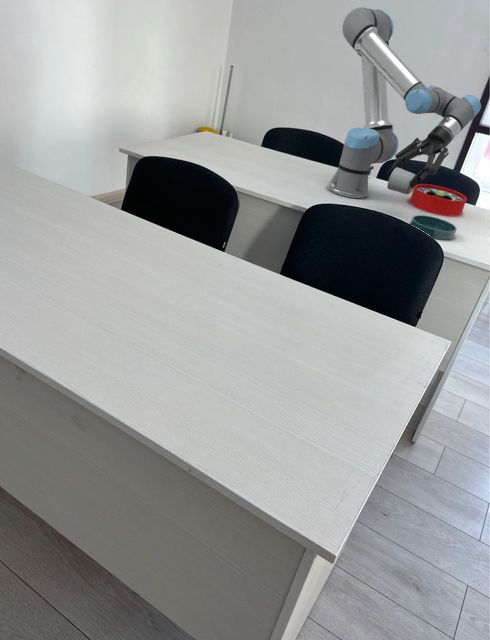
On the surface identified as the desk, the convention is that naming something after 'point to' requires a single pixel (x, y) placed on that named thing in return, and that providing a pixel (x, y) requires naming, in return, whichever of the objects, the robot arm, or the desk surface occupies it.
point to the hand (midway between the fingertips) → (399, 180)
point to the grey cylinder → (400, 181)
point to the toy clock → (438, 200)
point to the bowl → (434, 227)
